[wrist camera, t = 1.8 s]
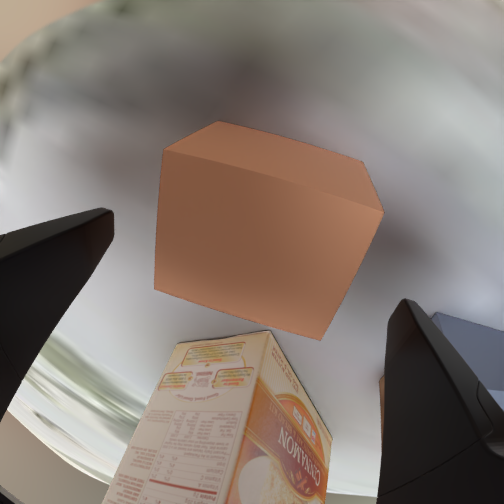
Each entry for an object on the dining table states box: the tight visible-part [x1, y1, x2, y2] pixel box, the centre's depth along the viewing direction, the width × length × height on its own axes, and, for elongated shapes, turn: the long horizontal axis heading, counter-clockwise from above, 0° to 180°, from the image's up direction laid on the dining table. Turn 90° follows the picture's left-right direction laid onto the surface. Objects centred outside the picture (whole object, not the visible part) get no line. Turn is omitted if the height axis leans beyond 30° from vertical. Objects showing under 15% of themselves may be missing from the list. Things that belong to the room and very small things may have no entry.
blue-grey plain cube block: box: [431, 312, 504, 411], centre depth 14 cm, size 5×6×5 cm
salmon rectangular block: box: [154, 121, 384, 341], centre depth 11 cm, size 5×6×5 cm
